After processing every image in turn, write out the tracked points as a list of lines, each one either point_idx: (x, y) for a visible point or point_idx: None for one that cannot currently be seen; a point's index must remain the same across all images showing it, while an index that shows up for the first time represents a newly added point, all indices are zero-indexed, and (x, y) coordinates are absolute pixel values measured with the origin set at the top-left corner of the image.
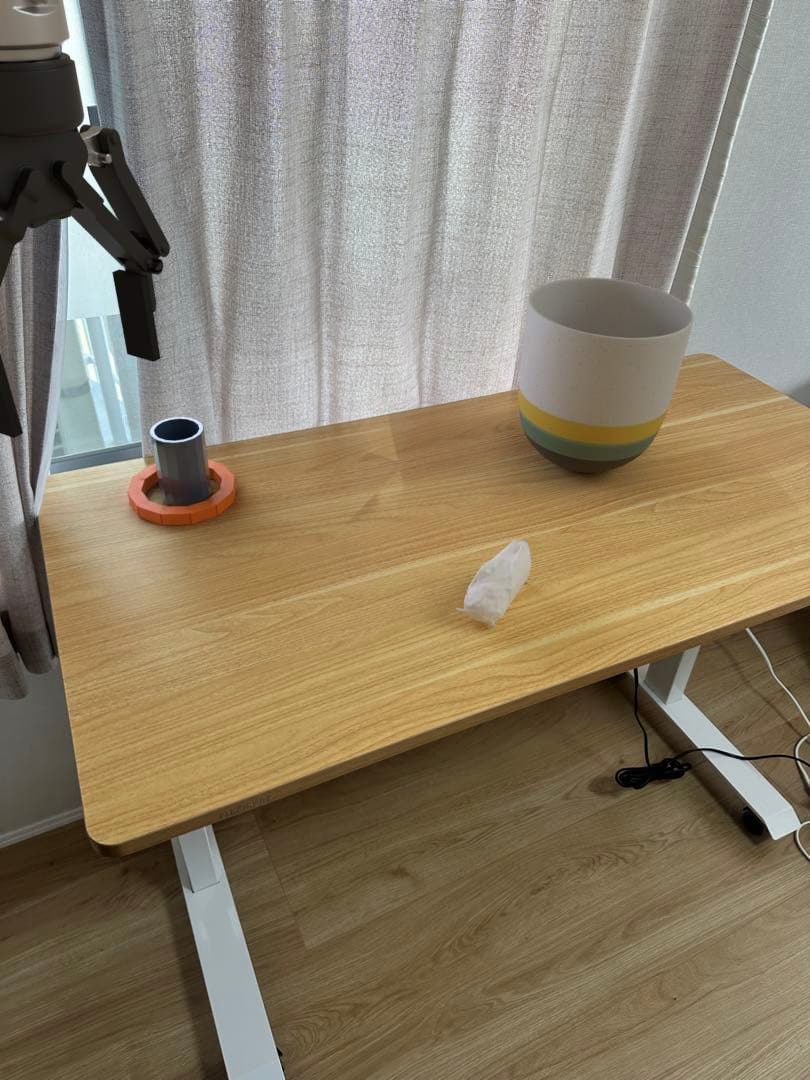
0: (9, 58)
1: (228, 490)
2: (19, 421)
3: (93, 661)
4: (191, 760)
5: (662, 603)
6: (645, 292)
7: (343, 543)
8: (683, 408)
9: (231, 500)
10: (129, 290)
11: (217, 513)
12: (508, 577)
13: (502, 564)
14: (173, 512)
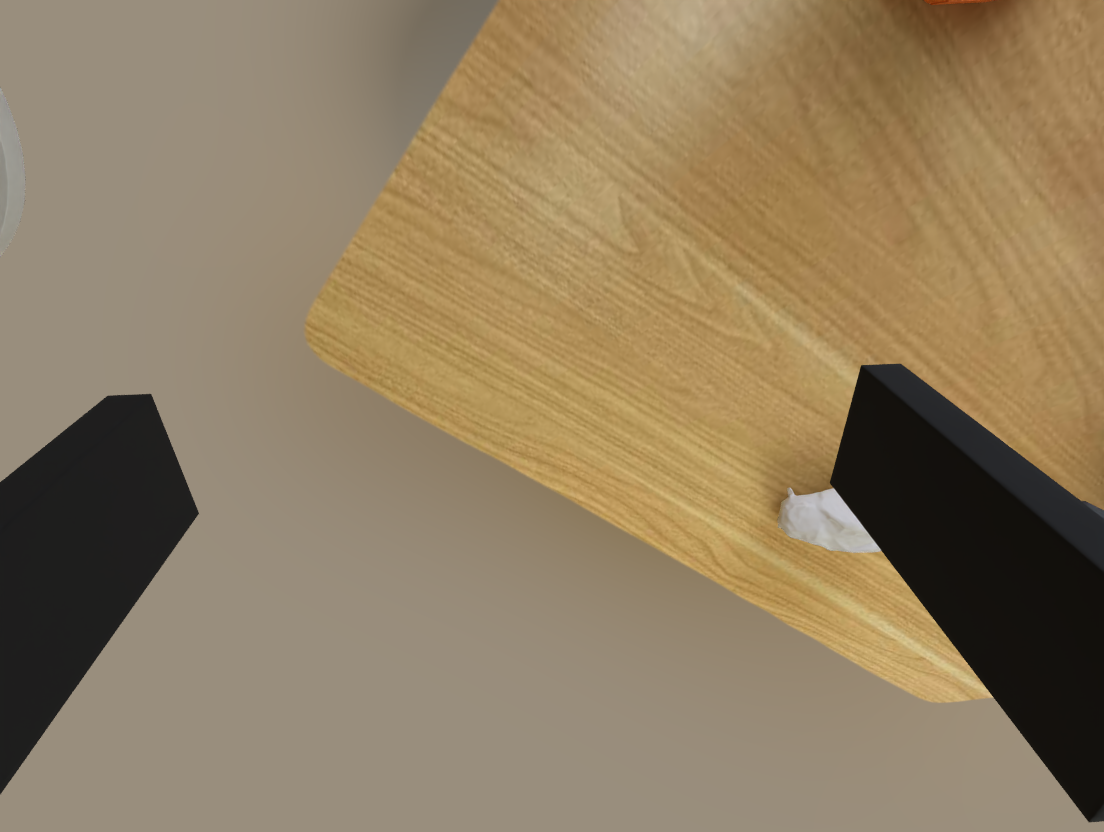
0: None
1: None
2: (177, 542)
3: (482, 103)
4: (432, 352)
5: (879, 626)
6: None
7: (900, 280)
8: None
9: (986, 1)
10: (1062, 661)
11: (933, 3)
12: (842, 549)
13: (864, 538)
14: None
